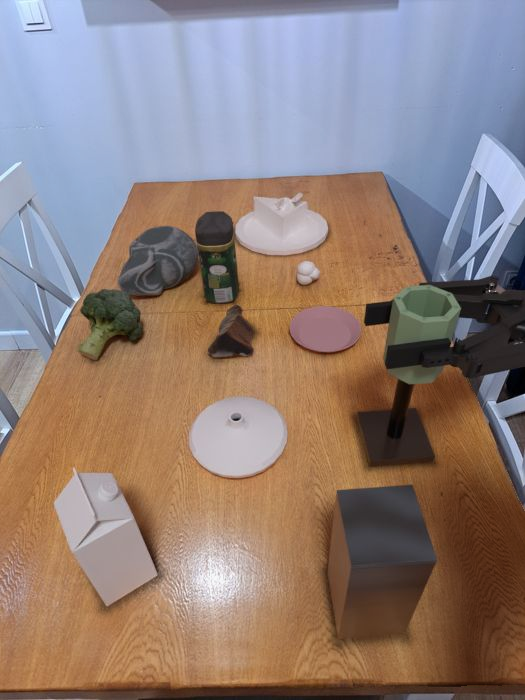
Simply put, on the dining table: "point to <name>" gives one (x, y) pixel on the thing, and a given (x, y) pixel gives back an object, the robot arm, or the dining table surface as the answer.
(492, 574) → the dining table surface
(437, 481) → the dining table surface
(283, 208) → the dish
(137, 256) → the grey swirled rock
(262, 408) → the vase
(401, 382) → the peg stand
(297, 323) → the plate
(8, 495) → the dining table surface
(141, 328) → the vegetable
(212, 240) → the coffee jar
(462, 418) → the dining table surface
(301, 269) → the microfossil shell
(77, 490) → the milk carton
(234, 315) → the stone
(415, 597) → the stand
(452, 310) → the green octagonal tube
